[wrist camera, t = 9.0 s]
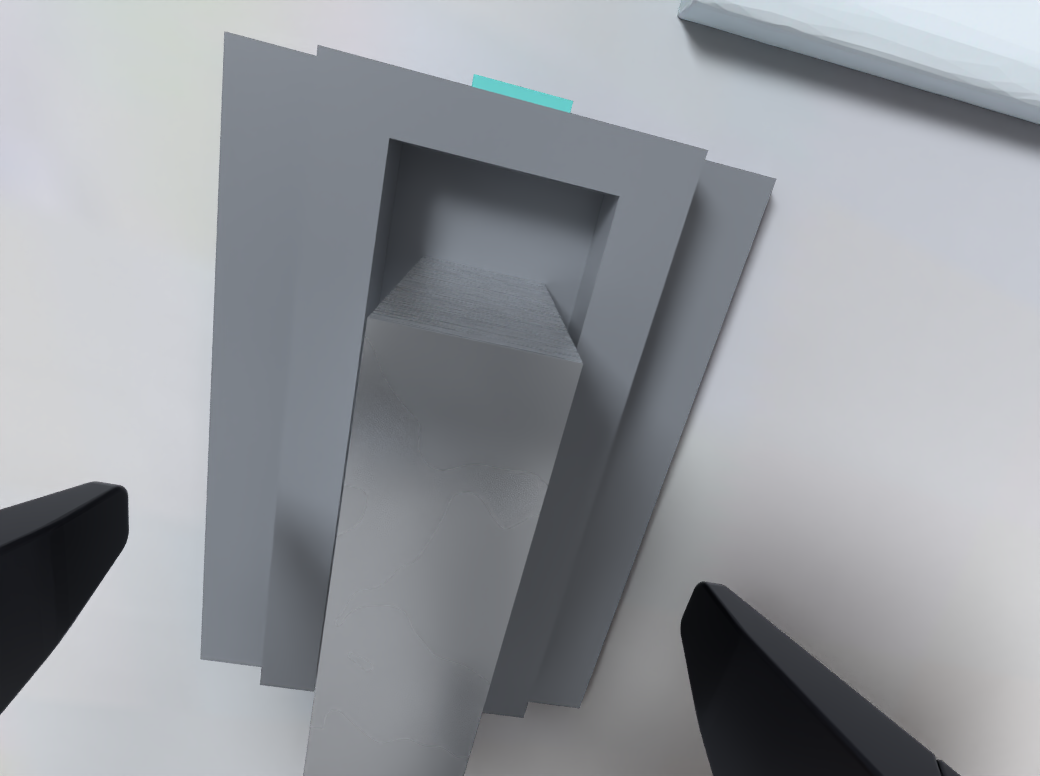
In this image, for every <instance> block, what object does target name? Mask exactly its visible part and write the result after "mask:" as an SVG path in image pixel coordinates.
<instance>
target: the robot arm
mask: <svg viewBox="0 0 1040 776" xmlns="http://www.w3.org/2000/svg"><path fill="white" fill-rule="evenodd" d="M128 534H129V517H128V493H127V490H126V489H125V488H124V487H123V486H121V485H115V484H109V483H103V482H89V483H86V484H83V485H79V486H76V487H73V488H70V489H66V490H63V491H60V492H56V493H53V494H50V495H47V496H43V497H40V498H37V499H34V500H30V501H27V502H24V503H20V504H17V505H14V506H11V507H7V508H4V509H1V510H0V715H1V713H2V712H3V711H4V710H5V709H6V707H7V706H8V705H9V704H10V702H11V701H12V700H13V699H14V698H15V696H16V695H17V694H18V693H19V692H20V690H21V689H22V688H23V687H24V686H25V684H26V683H27V682H28V681H29V680H30V678H31V677H32V676H33V675H34V673H35V672H36V671H37V670H38V669H39V667H40V666H41V665H42V664H43V663H44V661H45V660H46V659H47V658H48V656H49V655H50V654H51V653H52V651H53V650H54V649H55V648H56V646H57V645H58V644H59V642H60V641H61V640H62V638H63V637H64V635H65V634H66V633H67V631H68V630H69V628H70V627H71V626H72V624H73V623H74V621H75V620H76V618H77V617H78V615H79V614H80V612H81V611H82V609H83V608H84V606H85V605H86V603H87V602H88V600H89V599H90V597H91V596H92V595H93V593H94V592H95V590H96V589H97V587H98V586H99V584H100V583H101V581H102V580H103V578H104V577H105V575H106V574H107V572H108V571H109V569H110V568H111V566H112V565H113V563H114V562H115V560H116V559H117V557H118V556H119V555H120V553H121V552H122V550H123V548H124V546H125V544H126V542H127V539H128ZM680 628H681V638H682V643H683V648H684V653H685V658H686V664H687V669H688V674H689V679H690V684H691V690H692V695H693V700H694V705H695V710H696V715H697V719H698V724H699V728H700V732H701V735H702V739H703V743H704V746H705V749H706V753H707V756H708V760H709V763H710V766H711V770H712V773H713V776H960V775H959V774H958V773H957V772H955V771H954V770H953V769H952V768H950V767H949V766H948V765H947V764H945V763H944V762H943V761H942V760H939V759H938V760H936V757H935V755H934V754H933V753H932V752H930V751H929V750H928V749H927V748H925V747H924V746H923V745H922V744H921V743H919V742H918V741H917V740H916V739H914V738H913V737H912V736H911V735H909V734H908V733H907V732H906V731H904V730H903V729H902V728H901V727H899V726H898V725H897V724H896V723H894V722H893V721H892V720H891V719H890V718H888V717H887V716H886V715H885V714H883V713H882V712H881V711H880V710H878V709H877V708H876V707H875V706H873V705H872V704H871V703H870V702H868V701H867V700H866V699H865V698H864V697H862V696H861V695H860V694H859V693H857V692H856V691H855V690H854V689H852V688H851V687H850V686H849V685H847V684H846V683H845V682H844V681H842V680H841V679H840V678H839V677H838V676H836V675H835V674H834V673H833V672H831V671H830V670H829V669H828V668H826V667H825V666H824V665H823V664H821V663H820V662H819V661H818V660H816V659H815V658H814V657H813V656H812V655H810V654H809V653H808V652H807V651H805V650H804V649H803V648H802V647H800V646H799V645H798V644H797V643H795V642H794V641H793V640H792V639H790V638H789V637H788V636H787V635H786V634H784V633H783V632H782V631H781V630H779V629H778V628H777V627H776V626H774V625H773V624H772V623H771V622H769V621H768V620H767V619H766V618H765V617H763V616H762V615H761V614H760V613H758V612H757V611H756V610H755V609H753V608H752V607H751V606H750V605H748V604H747V603H746V602H745V601H743V600H742V599H741V598H740V597H739V596H737V595H736V594H735V593H734V592H732V591H731V590H730V589H729V588H727V587H726V586H724V585H722V584H716V583H710V582H700V583H698V584H697V585H696V587H695V589H694V591H693V593H692V596H691V598H690V600H689V603H688V605H687V607H686V610H685V612H684V614H683V617H682V620H681V627H680Z"/></svg>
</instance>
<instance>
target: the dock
mask: <svg viewBox="0 0 1040 776" xmlns="http://www.w3.org/2000/svg"><path fill="white" fill-rule="evenodd" d="M572 103H573V101H571V100H567V99H563V98H560V97H556V96H552V95H549V94H545V93H541V92H538V91H534V90H530V89H527V88H523V87H519V86H516V85H512V84H508V83H505V82H501V81H497V80H494V79H490V78H486V77H483V76H479V75H475V74H474V77H473V82H472V86H468V85H464V84H461V83H457V82H453V81H450V80H446V79H442V78H439V77H435V76H431V75H427V74H424V73H420V72H416V71H413V70H409V69H405V68H402V67H398V66H394V65H390V64H387V63H383V62H379V61H376V60H372V59H368V58H365V57H361V56H357V55H353V54H350V53H346V52H342V51H339V50H335V49H331V48H327V47H324V46H320V45H318V47H317V56H315V55H311V54H307V53H304V52H300V51H296V50H292V49H289V48H285V47H281V46H277V45H274V44H270V43H266V42H262V41H259V40H255V39H251V38H247V37H244V36H240V35H236V34H232V33H229V32H224V58H223V84H222V110H221V136H220V163H219V189H218V215H217V241H216V268H215V294H214V320H213V346H212V373H211V399H210V425H209V451H208V478H207V504H206V530H205V556H204V583H203V609H202V635H201V659H203V660H210V661H218V662H226V663H234V664H241V665H249V666H257V667H262V669H261V680H260V685H266V686H274V687H282V688H290V689H298V690H306V691H314V689H315V686H316V681H317V674H318V666H319V659H320V652H321V645H322V638H323V631H324V624H325V616H326V609H327V602H328V595H329V588H330V581H331V574H332V567H333V559H334V552H335V545H336V538H337V531H338V524H339V517H340V509H341V502H342V495H343V488H344V481H345V474H346V467H347V460H348V452H349V445H350V438H351V431H352V424H353V417H354V410H355V403H356V395H357V388H358V381H359V374H360V367H361V360H362V353H363V345H364V338H365V331H366V324H367V318H368V316H369V315H370V314H371V313H372V312H373V311H374V310H375V309H376V308H377V307H378V305H379V304H380V303H381V302H382V301H383V300H384V299H385V298H386V297H387V295H388V294H389V293H390V292H391V291H392V290H393V289H394V288H395V287H396V286H397V284H398V283H399V282H400V281H401V280H402V279H403V278H404V277H405V276H406V275H407V273H408V272H409V271H410V270H411V269H412V268H413V267H414V266H415V265H416V264H417V262H418V261H419V260H420V259H421V258H422V257H423V256H427V257H431V258H435V259H440V260H444V261H449V262H453V263H457V264H462V265H466V266H470V267H475V268H479V269H483V270H488V271H492V272H496V273H501V274H505V275H509V276H514V277H518V278H522V279H527V280H531V281H536V282H540V283H544V284H545V286H546V288H547V290H548V292H549V294H550V296H551V298H552V300H553V302H554V305H555V307H556V309H557V311H558V313H559V315H560V317H561V319H562V321H563V323H564V325H565V327H566V329H567V331H568V333H569V335H570V337H571V339H572V341H573V343H574V346H575V348H576V350H577V352H578V354H579V356H580V358H581V360H582V362H583V366H582V370H581V373H580V377H579V380H578V384H577V387H576V391H575V394H574V397H573V401H572V404H571V408H570V411H569V415H568V418H567V422H566V425H565V429H564V432H563V435H562V439H561V442H560V446H559V449H558V453H557V456H556V460H555V463H554V466H553V470H552V473H551V477H550V480H549V484H548V487H547V491H546V494H545V497H544V501H543V504H542V508H541V511H540V515H539V518H538V522H537V525H536V529H535V532H534V535H533V539H532V542H531V546H530V549H529V553H528V556H527V560H526V563H525V566H524V570H523V573H522V577H521V580H520V584H519V587H518V591H517V594H516V597H515V601H514V604H513V608H512V611H511V615H510V618H509V622H508V625H507V629H506V632H505V635H504V639H503V642H502V646H501V649H500V653H499V656H498V660H497V663H496V666H495V670H494V673H493V677H492V680H491V684H490V687H489V691H488V694H487V697H486V701H485V704H484V708H483V711H482V713H489V714H497V715H505V716H513V717H521V718H523V717H524V714H525V711H526V708H527V705H528V702H535V703H543V704H550V705H558V706H566V707H574V708H580V705H581V703H582V700H583V697H584V695H585V692H586V689H587V686H588V684H589V681H590V678H591V676H592V673H593V670H594V668H595V665H596V662H597V660H598V657H599V654H600V652H601V649H602V646H603V643H604V641H605V638H606V635H607V633H608V630H609V627H610V625H611V622H612V619H613V617H614V614H615V611H616V609H617V606H618V603H619V601H620V598H621V595H622V592H623V590H624V587H625V584H626V582H627V579H628V576H629V574H630V571H631V568H632V566H633V563H634V560H635V558H636V555H637V552H638V549H639V547H640V544H641V541H642V539H643V536H644V533H645V531H646V528H647V525H648V523H649V520H650V517H651V515H652V512H653V509H654V506H655V504H656V501H657V498H658V496H659V493H660V490H661V488H662V485H663V482H664V480H665V477H666V474H667V472H668V469H669V466H670V464H671V461H672V458H673V455H674V453H675V450H676V447H677V445H678V442H679V439H680V437H681V434H682V431H683V429H684V426H685V423H686V421H687V418H688V415H689V412H690V410H691V407H692V404H693V402H694V399H695V396H696V394H697V391H698V388H699V386H700V383H701V380H702V378H703V375H704V372H705V369H706V367H707V364H708V361H709V359H710V356H711V353H712V351H713V348H714V345H715V343H716V340H717V337H718V335H719V332H720V329H721V327H722V324H723V321H724V318H725V316H726V313H727V310H728V308H729V305H730V302H731V300H732V297H733V294H734V292H735V289H736V286H737V284H738V281H739V278H740V275H741V273H742V270H743V267H744V265H745V262H746V259H747V257H748V254H749V251H750V249H751V246H752V243H753V241H754V238H755V235H756V232H757V230H758V227H759V224H760V222H761V219H762V216H763V214H764V211H765V208H766V206H767V203H768V200H769V198H770V195H771V192H772V189H773V187H774V184H775V181H776V179H775V178H771V177H767V176H763V175H760V174H756V173H752V172H748V171H745V170H741V169H737V168H733V167H730V166H726V165H722V164H719V163H715V162H711V161H707V160H705V158H706V155H707V152H708V150H705V149H701V148H698V147H694V146H690V145H687V144H683V143H679V142H676V141H672V140H668V139H664V138H661V137H657V136H653V135H650V134H646V133H642V132H639V131H635V130H631V129H627V128H624V127H620V126H616V125H613V124H609V123H605V122H602V121H598V120H594V119H590V118H587V117H583V116H579V115H576V114H572V113H570V112H571V108H572Z"/></svg>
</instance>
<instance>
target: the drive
mask: <svg viewBox="0 0 1040 776" xmlns="http://www.w3.org/2000/svg"><path fill="white" fill-rule="evenodd" d="M582 366H583V362H582V360H581V358H580V356H579V354H578V352H577V350H576V348H575V346H574V343H573V341H572V339H571V337H570V335H569V333H568V331H567V329H566V327H565V325H564V323H563V321H562V319H561V317H560V315H559V313H558V311H557V309H556V307H555V305H554V302H553V300H552V298H551V296H550V294H549V292H548V290H547V288H546V286H545V284H544V283H540V282H536V281H531V280H527V279H522V278H518V277H514V276H509V275H505V274H501V273H496V272H492V271H488V270H483V269H479V268H475V267H470V266H466V265H462V264H457V263H453V262H449V261H444V260H440V259H435V258H431V257H427V256H423V257H422V258H421V259H420V260H419V261H418V262H417V264H416V265H415V266H414V267H413V268H412V269H411V270H410V271H409V272H408V273H407V275H406V276H405V277H404V278H403V279H402V280H401V281H400V282H399V283H398V284H397V286H396V287H395V288H394V289H393V290H392V291H391V292H390V293H389V294H388V295H387V297H386V298H385V299H384V300H383V301H382V302H381V303H380V304H379V305H378V307H377V308H376V309H375V310H374V311H373V312H372V313H371V314H370V315H369V316H368V318H367V324H366V331H365V338H364V345H363V353H362V360H361V367H360V374H359V381H358V388H357V395H356V403H355V410H354V417H353V424H352V431H351V438H350V445H349V452H348V460H347V467H346V474H345V481H344V488H343V495H342V502H341V509H340V517H339V524H338V531H337V538H336V545H335V552H334V559H333V567H332V574H331V581H330V588H329V595H328V602H327V609H326V616H325V624H324V631H323V638H322V645H321V652H320V659H319V666H318V674H317V681H316V688H315V695H314V702H313V709H312V716H311V723H310V731H309V738H308V745H307V752H306V759H305V766H304V773H303V776H464V773H465V770H466V766H467V763H468V760H469V756H470V753H471V749H472V746H473V742H474V739H475V735H476V732H477V728H478V725H479V722H480V718H481V715H482V711H483V708H484V704H485V701H486V697H487V694H488V691H489V687H490V684H491V680H492V677H493V673H494V670H495V666H496V663H497V660H498V656H499V653H500V649H501V646H502V642H503V639H504V635H505V632H506V629H507V625H508V622H509V618H510V615H511V611H512V608H513V604H514V601H515V597H516V594H517V591H518V587H519V584H520V580H521V577H522V573H523V570H524V566H525V563H526V560H527V556H528V553H529V549H530V546H531V542H532V539H533V535H534V532H535V529H536V525H537V522H538V518H539V515H540V511H541V508H542V504H543V501H544V497H545V494H546V491H547V487H548V484H549V480H550V477H551V473H552V470H553V466H554V463H555V460H556V456H557V453H558V449H559V446H560V442H561V439H562V435H563V432H564V429H565V425H566V422H567V418H568V415H569V411H570V408H571V404H572V401H573V397H574V394H575V391H576V387H577V384H578V380H579V377H580V373H581V370H582Z"/></svg>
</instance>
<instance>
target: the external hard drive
mask: <svg viewBox="0 0 1040 776" xmlns="http://www.w3.org/2000/svg"><path fill="white" fill-rule="evenodd" d="M677 16H678V17H679V18H681V19H684V20H688V21H691V22H695V23H699V24H703V25H706V26H709V27H713V28H716V29H719V30H723V31H726V32H729V33H732V34H736V35H739V36H742V37H746V38H749V39H752V40H756V41H759V42H762V43H765V44H768V45H771V46H776V47H779V48H783V49H786V50H790V51H793V52H797V53H800V54H804V55H807V56H811V57H814V58H817V59H821V60H824V61H827V62H831V63H834V64H838V65H841V66H844V67H848V68H851V69H854V70H858V71H861V72H864V73H868V74H871V75H874V76H878V77H881V78H884V79H888V80H891V81H894V82H898V83H901V84H905V85H908V86H911V87H915V88H918V89H921V90H924V91H928V92H931V93H934V94H938V95H943V96H946V97H948V98H952V99H955V100H959V101H963V102H966V103H969V104H972V105H975V106H978V107H982V108H985V109H988V110H992V111H995V112H998V113H1002V114H1006V115H1009V116H1013V117H1016V118H1019V119H1023V120H1026V121H1029V122H1032V123H1036V124H1039V125H1040V0H681V3H680V6H679V10H678V15H677Z"/></svg>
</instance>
